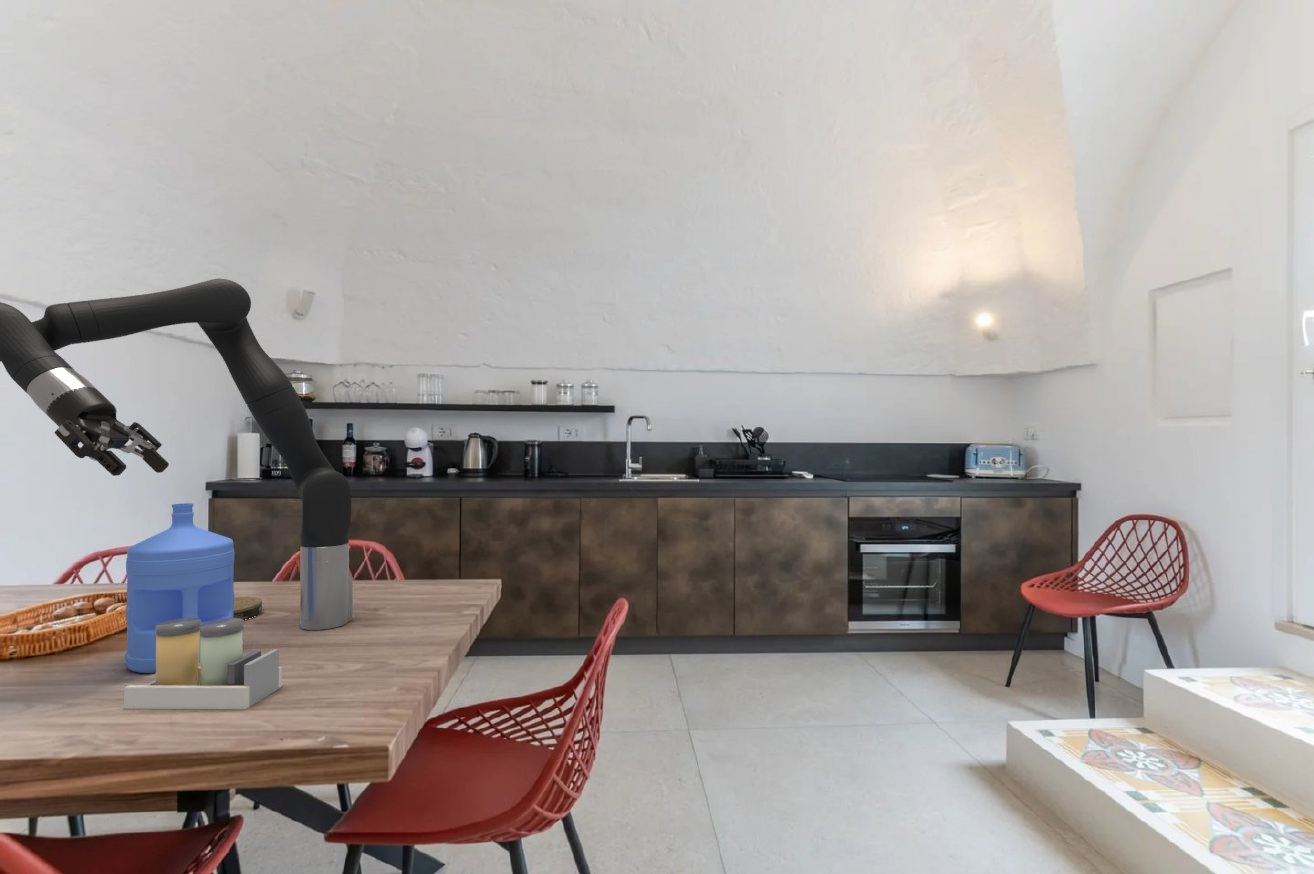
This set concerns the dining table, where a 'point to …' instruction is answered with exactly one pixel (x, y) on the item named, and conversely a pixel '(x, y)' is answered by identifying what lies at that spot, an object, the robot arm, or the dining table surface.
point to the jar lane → (211, 690)
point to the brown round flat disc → (246, 607)
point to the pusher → (239, 669)
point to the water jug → (175, 583)
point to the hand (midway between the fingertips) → (143, 470)
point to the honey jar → (178, 652)
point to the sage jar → (219, 649)
